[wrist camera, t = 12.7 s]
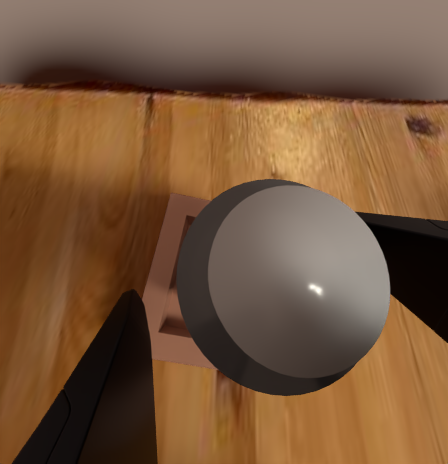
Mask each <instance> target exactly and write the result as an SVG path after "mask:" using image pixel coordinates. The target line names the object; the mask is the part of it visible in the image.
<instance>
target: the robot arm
mask: <svg viewBox="0 0 448 464" xmlns="http://www.w3.org/2000/svg"><path fill="white" fill-rule="evenodd" d="M355 213H357V215H358V216H359V217H360V218H361V219H362V220H363V221H364V222H365V223H366V225H367V226H368V227H369V229H370V230H371V231H372V233H373V235H374V236H375V238H376V240H377V241H378V244H379V246H380V248H381V250H382V252H383V255H384V258H385V261H386V264H387V269H388V273H389V281H390V294H391V295H392V296H394V297H395V298H396V299H397V300H398V301H399V302H401V303H402V304H403V305H404V306H405V307H406V308H408V309H409V310H410V311H411V312H412V313H413V314H415V315H416V316H417V317H418V318H419V319H420V320H422V321H423V322H424V323H425V324H426V325H427V326H428V327H430V328H431V329H432V330H433V331H434V332H435V333H436V334H438V335H439V336H440V337H441V338H442V339H443V340H444V341H446V342H447V343H448V221H440V220H431V219H421V218H411V217H401V216H392V215H382V214H372V213H363V212H355ZM63 388H64V389H62V390H61V391H60V393H59V394H58V396H57V397H56V399H55V401H54V402H53V404H52V405H51V407H50V408H49V410H48V411H47V413H46V414H45V416H44V417H43V419H42V420H41V422H40V424H39V425H38V427H37V428H36V430H35V431H34V432H33V434H32V435H31V437H30V438H29V440H28V441H27V442H26V444H25V445H24V447H23V448H22V450H21V451H20V452H19V454H18V455H17V457H16V458H15V460H14V461H13V462H12V464H158V462H157V443H156V424H155V405H154V386H153V367H152V348H151V339H150V333H149V327H148V321H147V316H146V310H145V305H144V303H143V301H142V299H141V298H140V296H139V295H138V293H137V292H136V290H134V289H131V290H129V291H126V292H124V293H123V294H122V295H121V297H120V299H119V300H118V302H117V303H116V305H115V306H114V308H113V310H112V311H111V313H110V314H109V316H108V317H107V319H106V321H105V322H104V324H103V325H102V327H101V328H100V330H99V332H98V333H97V335H96V336H95V338H94V339H93V341H92V343H91V344H90V346H89V347H88V349H87V350H86V352H85V354H84V355H83V357H82V358H81V360H80V361H79V363H78V365H77V366H76V368H75V369H74V371H73V372H72V374H71V376H70V377H69V379H68V380H67V382H66V383H65V385H64V387H63Z"/></svg>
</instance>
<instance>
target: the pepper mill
mask: <svg viewBox="0 0 448 464" xmlns="http://www.w3.org/2000/svg"><path fill="white" fill-rule="evenodd" d="M176 284H177V295H178V301H179V305H180V310H181V314H182V316H183V319H184V322H185V324H186V327H187V329H188V331H189V333H190V335H191V337H192V339H193V341H194V342H195V344H196V345H197V347H198V348H199V349H200V351H201V352H202V354H203V355H204V356H205V357H206V358H207V359H208V360H209V361H210V362H211V363H212V364H213V366H214V367H216V368H217V369H218V370H219V371H221V372H222V373H223V374H224V375H226V376H227V377H228V378H230V379H232V380H233V381H235V382H237V383H238V384H240V385H242V386H245V387H247V388H250V389H252V390H255V391H258V392H262V393H266V394H270V395H282V396H290V395H302V394H306V393H310V392H314V391H317V390H320V389H322V388H324V387H327V386H329V385H331V384H332V383H334V382H335V381H337V380H339V379H340V378H342V377H343V376H344V375H345V374H346V373H347V372H349V371H350V370H351V369H352V368H353V367H354V366H355V364H356V363H357V362H358V361H359V360H360V359H361V358H362V357H364V356H365V355H366V354H367V352H368V351H369V350H370V349H371V348H372V347H373V345H374V344H375V342H376V341H377V339H378V337H379V336H380V334H381V331H382V329H383V327H384V325H385V321H386V318H387V314H388V310H389V303H390V281H389V273H388V269H387V264H386V261H385V258H384V255H383V252H382V250H381V248H380V246H379V244H378V241H377V240H376V238H375V236H374V235H373V233H372V231H371V230H370V229H369V227H368V226H367V225H366V223H365V222H364V221H363V220H362V219H361V218H360V217H359V216H358V215H357V213H355V212H354V211H353V210H352V209H351V208H350V207H348V206H347V205H346V204H344V203H343V202H341V201H340V200H338V199H337V198H335V197H333V196H331V195H329V194H327V193H324V192H322V191H320V190H316V189H313V188H310V187H308V186H305V185H303V184H299V183H296V182H292V181H286V180H276V179H265V180H256V181H251V182H247V183H243V184H240V185H238V186H235V187H233V188H231V189H229V190H227V191H225V192H223V193H222V194H220V195H219V196H217V197H216V198H214V199H213V200H212V201H211V202H210V203H209V204H208V205H206V206H205V207H204V208H203V210H202V211H201V212H200V213H199V214H198V215H197V217H196V218H195V220H194V221H193V223H192V224H191V226H190V228H189V229H188V232H187V234H186V236H185V238H184V240H183V243H182V247H181V250H180V253H179V258H178V264H177V278H176Z"/></svg>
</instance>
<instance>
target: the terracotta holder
mask: <svg viewBox="0 0 448 464" xmlns="http://www.w3.org/2000/svg"><path fill="white" fill-rule="evenodd" d="M210 202H211V201H209V200H204V199H199V198H195V197H190V196H185V195H180V194H175V193H171V195H170V199H169V203H168V206H167V210H166V214H165V217H164V221H163V225H162V228H161V232H160V236H159V239H158V243H157V247H156V250H155V254H154V258H153V261H152V265H151V269H150V272H149V276H148V280H147V283H146V287H145V291H144V294H143V298H142V301H143V303H144V305H145V310H146V316H147V321H148V327H149V333H150V339H151V348H152V359H156V360H162V361H168V362H174V363H180V364H186V365H192V366H198V367H205V368H211V369H217V368H216V367H214V366H213V364H212V363H211V362H210V361H209V360H208V359H207V358H206V357H205V356H204V355H203V354H202V352H201V351H200V349H199V348H198V347H197V345H196V344H195V342H194V341H193V339H192V337H191V335H190V333H189V331H188V329H187V327H186V324H185V322H184V319H183V316H182V314H181V310H180V305H179V301H178V295H177V284H176V278H177V264H178V258H179V253H180V250H181V247H182V243H183V240H184V238H185V236H186V234H187V232H188V229H189V228H190V226H191V224H192V223H193V221H194V220H195V218H196V217H197V215H198V214H199V213H200V212H201V211H202V210H203V208H204V207H205V206H206V205H208V204H209V203H210ZM217 370H218V369H217Z"/></svg>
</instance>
